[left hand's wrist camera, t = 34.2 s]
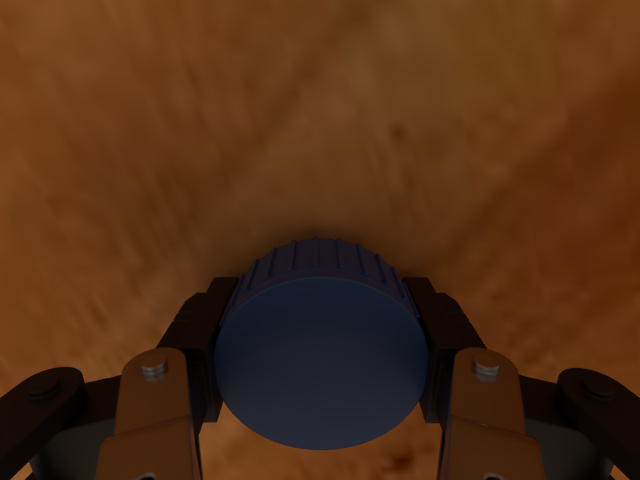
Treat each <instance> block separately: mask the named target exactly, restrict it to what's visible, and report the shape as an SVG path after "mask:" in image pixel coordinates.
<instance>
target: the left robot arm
mask: <svg viewBox="0 0 640 480" xmlns="http://www.w3.org/2000/svg"><path fill="white" fill-rule="evenodd" d="M239 280H240V279H239V277H215V278H214V279H213V281H212V283H211V285H210V286H209V288H208V290H207V292H206V293H196V294H195V295H193V296H192V297H190V298H189V299H188V300H186V301H185V302H184V304H183V306H182V307H181V309H180V310H179V313H177V315H176V317H175V318H174V321H173V322H172V323H171V325H170V326H169V328H168V329H167V331H166V333H165V334H164V336H163V337H162V339H161V341H160V342H159V344H158V345H157V347H156V348H155V349H151V350H148V351H145V352H143V353H141V354H139V355H137V356H135V357H134V358H133V359H131V360H130V361H129V362H128V363H127V364H126V365H125V367H124V368H123V370H122V374H121V375H119V376H115V377H111V378H107V379H102V380H97V381H93V382H88V383H85V382H84V378H83V375H82V373H81V372H80V371H79V370H78V369H76V368H72V367H58V368H52V369H48V370H45V371H42V372H40V373H37V374H35V375H33V376H31V377H29V378H27V379H26V380H24V381H23V382H21V383H20V384H18V385H17V386H16V387H14V388H13V389H12V390H10V391H9V392H8V393H6V394H5V395H4V396H2V397H1V398H0V480H10V479H11V478H12V477H13V476H14V475H15V474H16V473H17V472H18V471H19V470H21V469H22V468H23V467H24V466H25V465H26V464H27V463H28V462H29V463H30V466H31V468H32V470H33V472H32V473H31V474H30V475H29V476H28V477H27V478H26V479H25V480H203V470H202V460H201V451H200V442H199V433H200V430H201V427H202V424H203V422H217V420H218V417H219V414H220V410H221V407H222V404H223V399H222V397H221V395H220V393H219V391H218V385H217V378H216V370H215V363H214V348H215V344H216V340H217V338H218V335H219V333H220V331H221V327H219V324H220V321H221V319H222V316H223V314H224V312H225V309H226V307H227V304H228V302H229V300H230V297H231V295H232V293H233V290H236V287H237V285H238V283H239ZM403 282H405V283H406V286H407V288H408V290H409V292H410V295H411V297H412V299H413V302H414V304H415V306H416V309H417V311H418V313H419V315H420V318H418V320H419V322H420V324H421V327H422V329H423V332H424V336H425V339H426V342H427V345H428V350H429V356H428V365H427V372H426V380H425V387H424V392H423V394H422V396H421V398H420V400H419V403H420V406H421V410H422V413H423V416H424V419H425V422H426V423H440V426H441V429H442V436H441V442H440V451H439V460H438V470H437V480H615V479H614V478H613V477H612V476H611V475H610V473H611V471H612V468H613V466H614V465H615V466H616V467H617V468H618V469H619V470H621V471H622V472H623V473H624V474H625V475H626V476H627V477H628V478H629V479H630V480H640V398H639V397H638V396H636V395H635V394H634V393H632V392H631V391H630V390H628V389H627V388H626V387H624V386H623V385H622V384H620V383H619V382H617V381H616V380H614V379H612V378H610V377H608V376H606V375H604V374H601V373H599V372H596V371H593V370H588V369H583V368H569V369H566V370H564V371H562V372H561V373H560V375H559V377H558V381H557V384H556V383H552V382H547V381H542V380H538V379H533V378H529V377H525V376H522V375H519V374H518V370H517V368H516V367H515V365H514V364H513V363H512V362H511V361H510V360H509V359H507V358H506V357H505V356H503V355H501V354H499V353H497V352H495V351H492V350H489V349H487V348H486V346H485V345H484V343H483V342H482V340H481V339H480V337H479V335H478V334H477V332H476V331H475V329H474V328H473V326H472V324H471V323H469V320H468V318H467V317H466V315H465V314H464V313H463V310H462V309H461V307H460V306H459V304H458V302H457V301H455V300H454V299H453V298H451V297H450V296H448V295H447V294H446V293H436V292H435V290H434V288H433V286H432V285H431V283H430V281H429V279H428V278H410V277H404V278H403V279H402V283H403Z"/></svg>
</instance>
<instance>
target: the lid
mask: <svg viewBox="0 0 640 480" xmlns="http://www.w3.org/2000/svg"><path fill="white" fill-rule="evenodd" d="M418 318H420V315H419V313H418V311H417V309H416V306H415V304H414V302H413V299H412V297H411V295H410V292H409V290H408V288H407V286H406V283H405V282H403V283H402V282H401V280H400V279H399V276H398V274H397V271H396V269H395V268H394V266H392V267H390V266H389V265H388V264H387V263H386V262H385V261H383V260H382V259H381V256H380V254H378V253H377V254H376V255H375V254H374V253H372V252H370V251H369V250H367V249H365V248H362V245H361V244H359V243H358V244H357V245H355V244H352V243H348V242H345V241H341V240H340V238H336V240H333V239H318V237H314V239H310V240H303V241H298V242H296V240H293V241H292V243H290V244H288V245H285V246H282V247H280V248H278V249H276V248H275V247H274V248H273V249H271V252H270V253H268V254H267V255H266V256H264V257H263V258H261V259H260V260H258V259H256V260H255V261H254V263H253V266H252V267H251V268H250V270H249V271H248V272H247V273H246V274H244V273H243V274H242V275H241V278H240V280H239V283H238V285H237V287H236V290H233V293H232V295H231V297H230V300H229V302H228V304H227V307H226V309H225V312H224V314H223V316H222V319H221V321H220V324H219V327H221V331H220V333H219V335H218V338H217V340H216V344H215V348H214V363H215V370H216V378H217V385H218V391H219V393H220V395H221V397H222V399H223V401H224V402H225V404H226V405H227V407H228V408H229V409H230V411H231V412H232V413H233V414H234V415H235V416H236V417H237V418H238V419H239V420H240V421H241V422H242V423H243V424H244V425H246V426H247V427H248V428H250V429H251V430H253V431H254V432H256V433H258V434H259V435H261V436H263V437H265V438H267V439H270V440H272V441H274V442H277V443H280V444H283V445H286V446H291V447H296V448H301V449H310V450H332V449H341V448H347V447H351V446H355V445H359V444H362V443H365V442H368V441H370V440H373V439H375V438H377V437H379V436H381V435H383V434H385V433H386V432H388V431H389V430H391V429H393V428H394V427H395V426H397V425H398V424H399V423H400V422H401V421H403V420H404V419H405V418H406V417H407V416H408V414H409V413H410V412H411V411H412V410H413V409H414V407H415V406H416V404H417V403H418V402H419V400H420V398H421V396H422V394H423V392H424V387H425V380H426V372H427V365H428V356H429V350H428V345H427V342H426V339H425V336H424V332H423V329H422V327H421V324H420V322H419V320H418Z"/></svg>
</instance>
